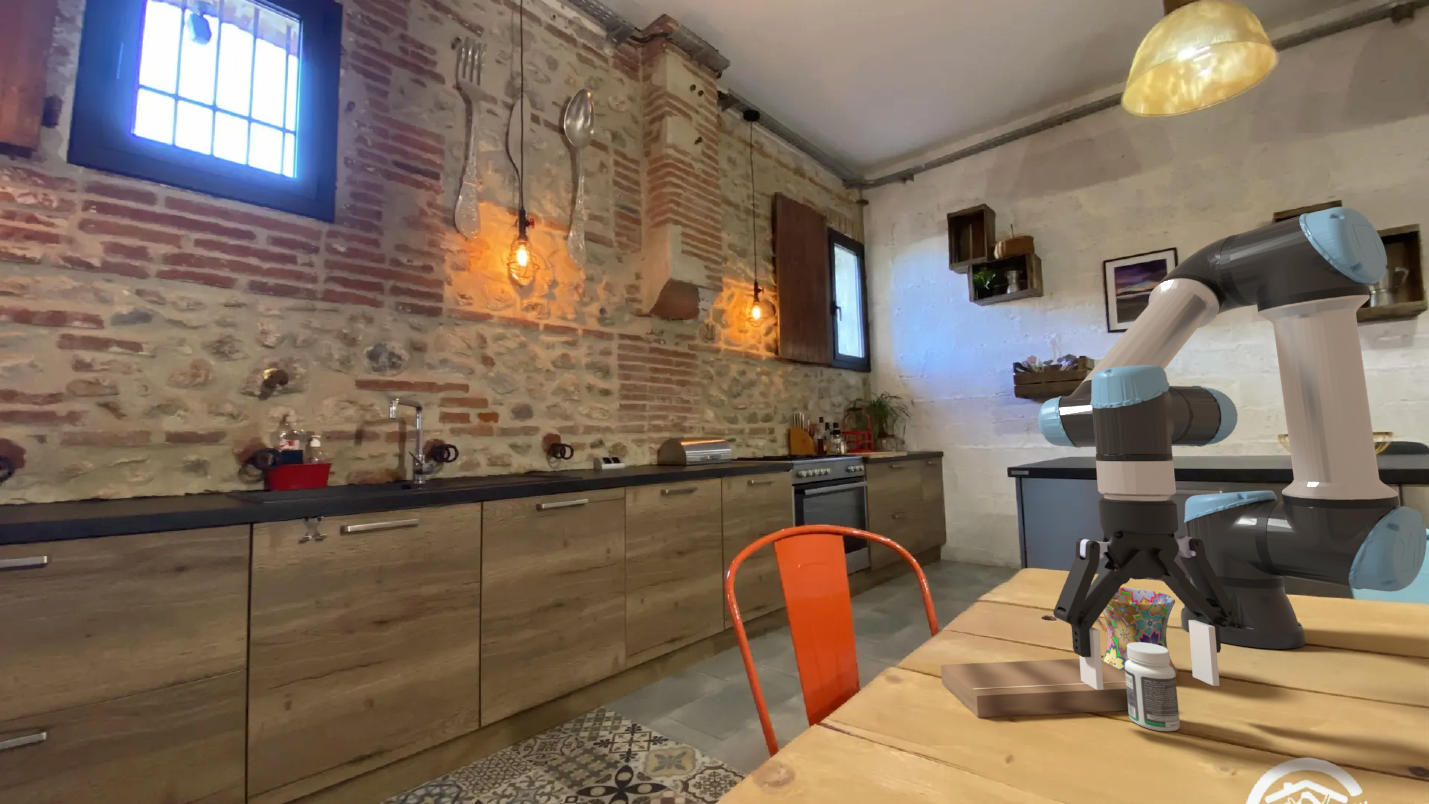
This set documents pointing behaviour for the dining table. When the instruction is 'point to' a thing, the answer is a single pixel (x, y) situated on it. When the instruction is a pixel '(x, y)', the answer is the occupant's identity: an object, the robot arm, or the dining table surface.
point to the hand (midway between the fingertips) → (1149, 683)
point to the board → (1033, 688)
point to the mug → (1135, 622)
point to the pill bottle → (1151, 687)
